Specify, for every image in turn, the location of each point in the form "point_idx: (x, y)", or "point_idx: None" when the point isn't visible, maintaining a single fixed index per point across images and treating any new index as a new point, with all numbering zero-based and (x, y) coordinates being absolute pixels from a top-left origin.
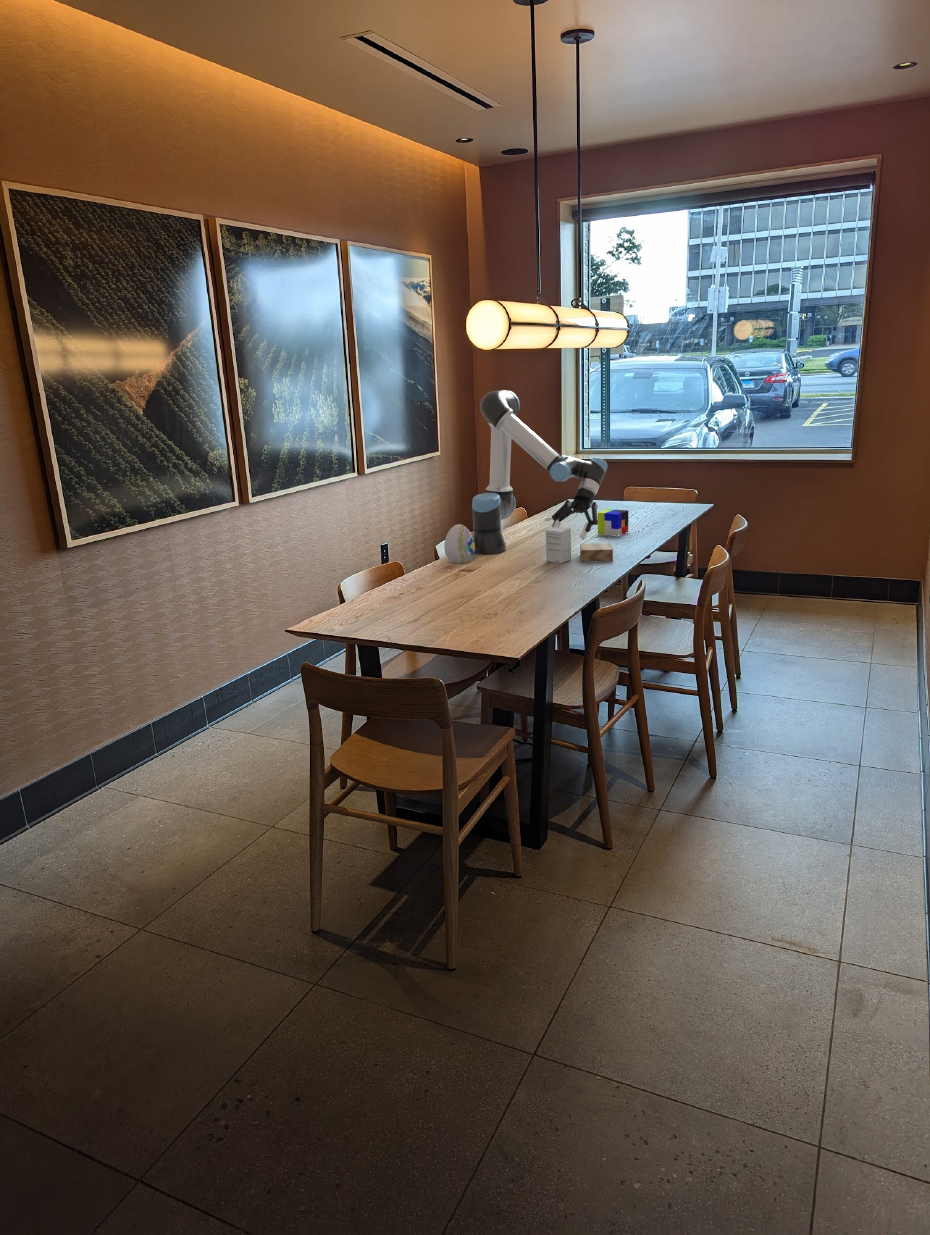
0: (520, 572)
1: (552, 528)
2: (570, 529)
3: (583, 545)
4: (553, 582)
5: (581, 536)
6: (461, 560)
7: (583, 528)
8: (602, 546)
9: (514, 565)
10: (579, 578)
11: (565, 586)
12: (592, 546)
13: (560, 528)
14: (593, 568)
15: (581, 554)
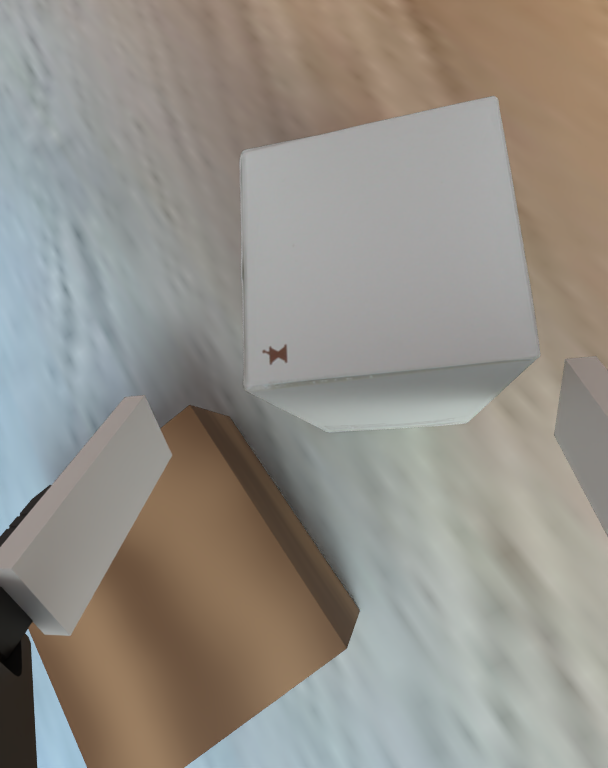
0: (393, 3)
1: (484, 227)
2: (245, 382)
3: (274, 586)
4: (131, 6)
5: (126, 400)
6: None
7: (79, 470)
8: (108, 626)
9: (563, 76)
10: (65, 126)
11: (59, 3)
12: (182, 585)
13: (365, 290)
14: (92, 319)
15: (224, 433)
